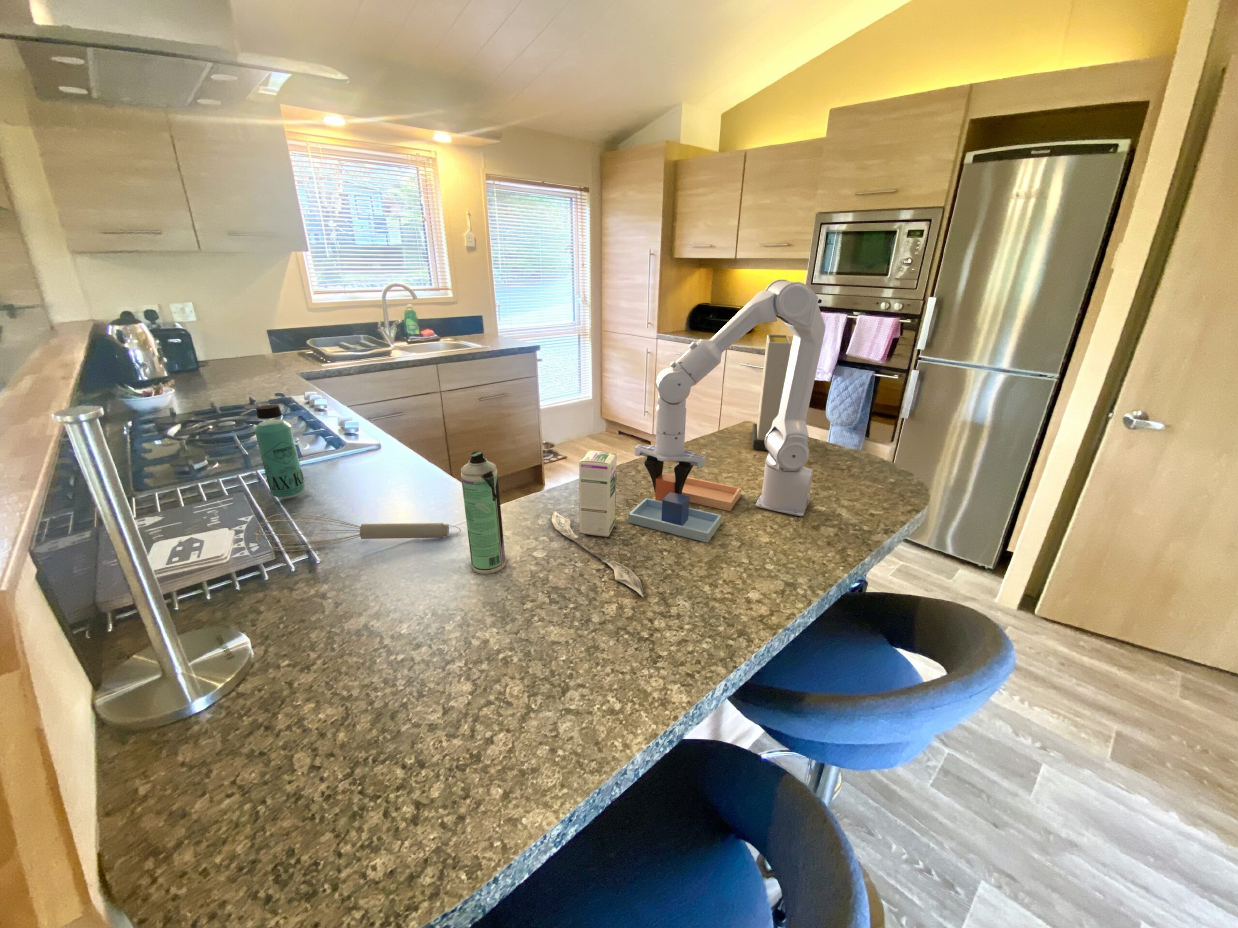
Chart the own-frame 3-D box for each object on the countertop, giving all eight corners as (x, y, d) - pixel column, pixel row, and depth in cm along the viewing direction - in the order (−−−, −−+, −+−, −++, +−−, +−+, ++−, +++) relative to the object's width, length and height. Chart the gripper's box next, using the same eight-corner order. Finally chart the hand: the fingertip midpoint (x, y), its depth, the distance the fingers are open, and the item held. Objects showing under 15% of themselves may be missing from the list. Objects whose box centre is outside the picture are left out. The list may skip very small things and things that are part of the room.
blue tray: (721, 523, 99) (721, 515, 99) (707, 542, 93) (708, 533, 92) (645, 505, 106) (646, 497, 106) (628, 522, 100) (628, 513, 99)
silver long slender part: (556, 511, 103) (535, 518, 101) (556, 509, 103) (535, 516, 100) (664, 588, 80) (640, 600, 77) (664, 585, 80) (640, 597, 77)
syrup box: (609, 537, 94) (611, 463, 89) (577, 533, 95) (578, 459, 90) (615, 523, 99) (618, 452, 94) (585, 519, 100) (587, 449, 95)
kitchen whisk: (459, 544, 92) (455, 512, 90) (253, 560, 87) (243, 527, 85) (463, 527, 98) (459, 497, 95) (270, 541, 93) (260, 510, 90)
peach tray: (740, 495, 111) (741, 487, 110) (729, 511, 104) (730, 502, 104) (671, 481, 118) (671, 473, 117) (657, 494, 111) (657, 486, 111)
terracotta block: (680, 497, 108) (681, 475, 106) (673, 505, 104) (674, 482, 102) (662, 493, 109) (663, 472, 107) (655, 501, 106) (655, 478, 104)
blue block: (688, 519, 100) (689, 496, 98) (680, 528, 97) (682, 504, 95) (669, 514, 102) (670, 491, 100) (661, 523, 99) (662, 499, 97)
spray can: (511, 559, 88) (502, 449, 80) (494, 576, 83) (482, 461, 75) (483, 553, 89) (472, 444, 82) (465, 570, 84) (450, 456, 77)
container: (777, 443, 149) (790, 336, 142) (782, 455, 131) (796, 333, 125) (751, 441, 150) (762, 335, 144) (752, 452, 133) (765, 332, 126)
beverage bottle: (264, 500, 107) (238, 408, 100) (294, 488, 113) (271, 399, 106) (286, 506, 105) (261, 412, 98) (315, 493, 111) (293, 403, 103)
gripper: (628, 430, 101) (627, 493, 106) (698, 442, 95) (694, 508, 100) (643, 421, 107) (642, 480, 112) (711, 431, 101) (706, 494, 106)
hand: (667, 493), depth 106 cm, fingers closed on terracotta block, 4 cm apart
